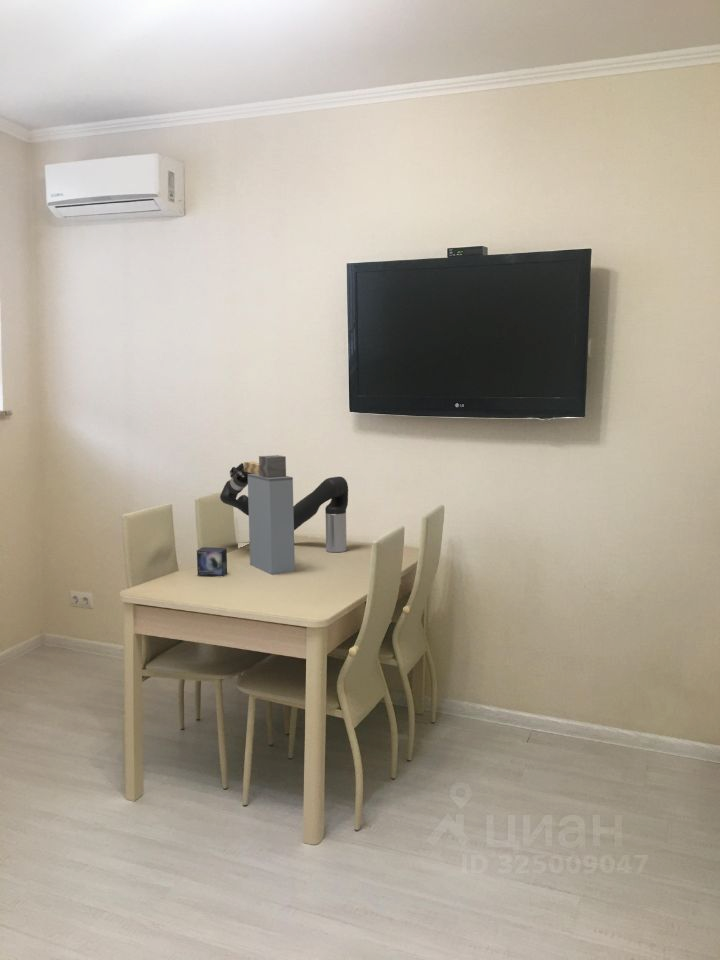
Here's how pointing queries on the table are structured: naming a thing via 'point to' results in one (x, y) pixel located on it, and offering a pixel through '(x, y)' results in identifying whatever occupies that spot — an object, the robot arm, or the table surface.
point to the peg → (267, 466)
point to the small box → (212, 561)
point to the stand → (271, 523)
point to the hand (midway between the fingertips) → (252, 464)
